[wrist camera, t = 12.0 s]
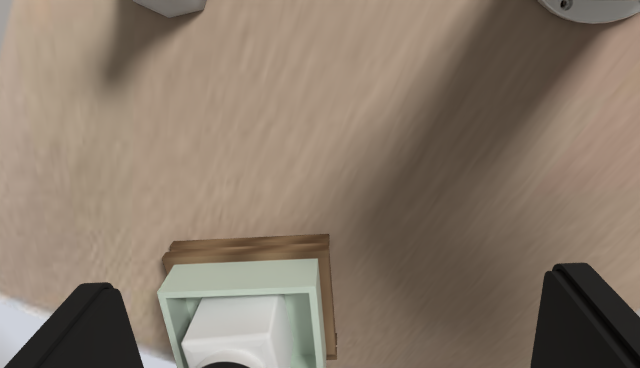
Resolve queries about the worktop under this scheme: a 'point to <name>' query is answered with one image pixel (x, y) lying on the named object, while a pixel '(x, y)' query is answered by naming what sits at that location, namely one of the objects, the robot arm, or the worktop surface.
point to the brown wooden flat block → (265, 252)
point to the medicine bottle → (239, 333)
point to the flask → (172, 6)
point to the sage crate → (249, 279)
